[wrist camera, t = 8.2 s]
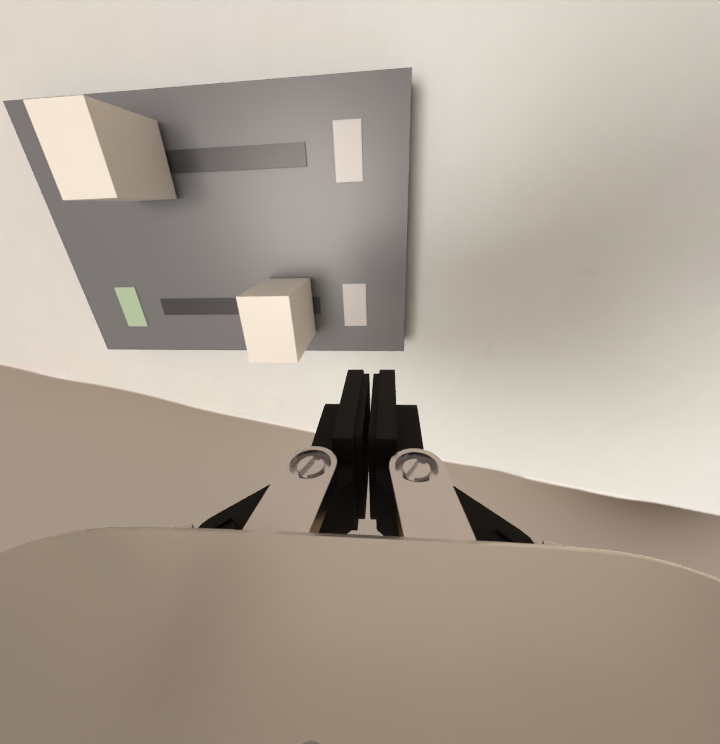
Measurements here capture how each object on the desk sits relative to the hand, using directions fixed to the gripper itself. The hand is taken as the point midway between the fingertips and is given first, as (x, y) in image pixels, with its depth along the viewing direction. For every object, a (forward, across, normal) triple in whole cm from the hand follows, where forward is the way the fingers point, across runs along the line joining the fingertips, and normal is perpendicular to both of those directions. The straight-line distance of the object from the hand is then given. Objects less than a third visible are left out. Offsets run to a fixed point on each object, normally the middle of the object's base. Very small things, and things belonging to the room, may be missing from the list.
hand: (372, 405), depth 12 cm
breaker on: (+12, +14, -9) cm, 21 cm away
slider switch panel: (+15, +10, -5) cm, 19 cm away
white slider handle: (+12, +6, 0) cm, 14 cm away
